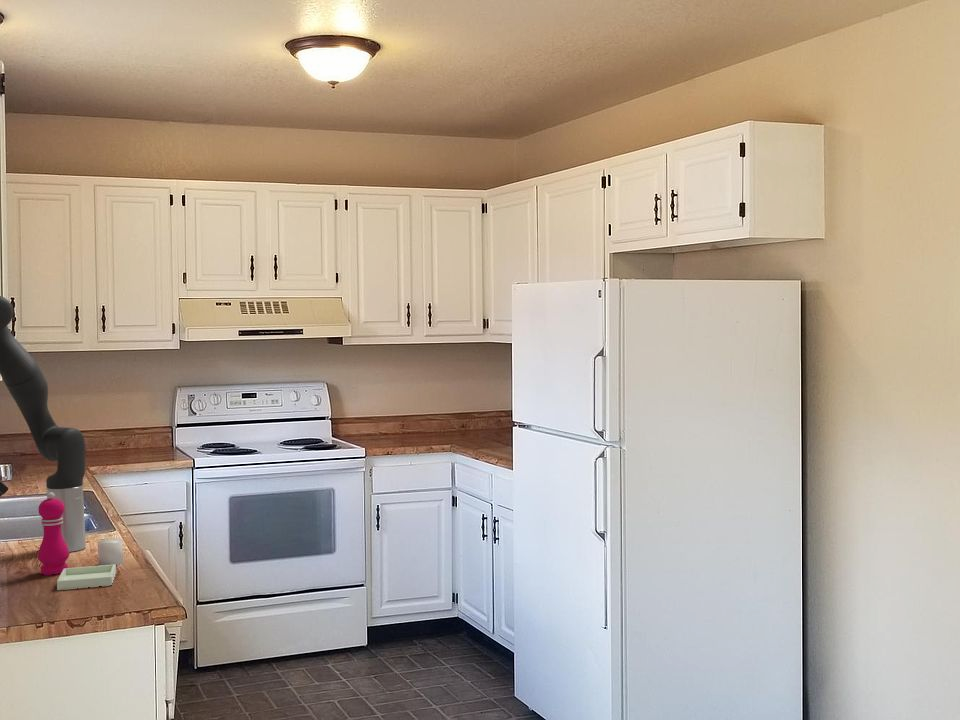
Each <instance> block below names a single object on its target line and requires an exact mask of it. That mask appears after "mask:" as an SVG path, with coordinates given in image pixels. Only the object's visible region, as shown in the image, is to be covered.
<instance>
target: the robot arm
mask: <svg viewBox="0 0 960 720" xmlns="http://www.w3.org/2000/svg"><path fill="white" fill-rule="evenodd" d="M13 317H14V307H13V305H12V303H11V301H10V300H9V299H8V298H5V296H2V295H0V377H1V378H2V381H3V383H4V384H5V387H6V389H7V390H8V391H9V393H10V396H11V397H12V398H13V400H14V401H15V403H16V405H17V407H18V409H19V411H20V413H21V415H22V417H23V419H24V420H25V422H26V424H27V427H28V429H29V431H30V434H31V437H32V438H33V441H34V444H35V445H36V446H35V447H36V448H37V450H38V452H39V454H40V456H41V457H42V458H44V459H45V460H47V461H50V462H51V461H52V462H57V470H56V471H55V472H54V473H53V474H51V475H49V476H47V478H46V480H45V483H46V486H45V487H46V495H47V494H48V493H50V492H52V493H54V495H55V497H54V498H55V499H59V500H61V501H62V502H63V504H64V508H65V509H64V513H63V514H62V515H61V517H62V518H63V519H62V521H63V523H62V524H61V532H62V536H63V539H64V541H65V543H66V544H67V547H68V549H69V553H71V552H76V551H81V550H83V549H86V546H87V545H86V544H87V543H86V527H85V524H86V523H85V506H84V505H85V503H84V486H83V485H84V484H83V483H84V478H85V475H86V474H85V473H86V440H85V437H84V435H83V433H82V432H81V430H79V429H78V428H74V427H63V426H62V427H60V426H58V424H57V423H56V422H55V420H54V419H53V417H52V415H51V413H50V410H49V407H48V401H49V400H48V399H49V387H48V382H47V379H46V378H45V376H44V374H43V372H42V370H41V368H40V367H39V365H38V364H37V362H36V361H35V359H34V358H33V356H32V355H31V354H30V353H29V352H28V350H26V348H24V346H23V345H21V343H20V342H19V341H18V340H17V339H16V338H15V336H14V335H13V334H12V332H11V330H10V328H9V326H8V325H9V324H10V323H11V321H12V320H13ZM9 489H10V488H9V486H7V485H6V484H5V483H3V482H2V481H1V480H0V498H2V496H3V495H5V493H7V492H8V490H9ZM46 499H48V498H47V497H46Z"/></svg>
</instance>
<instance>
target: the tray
mask: <svg viewBox="0 0 960 720" xmlns="http://www.w3.org/2000/svg"><path fill="white" fill-rule="evenodd" d="M115 574H116V575H117V566H116V564H113V565H101V566H99V565H91V566H77V567H68V568H64V569H63V571H62V573H61V574H59V577H58V579H57V580H56V587H57V588H56V591H63V590H64V591H65V590H66V591H67V590H75V589H77V588H78V589H87V588H88V587H90V588H99V586H102V587H111V586H110V585H112V586H113V584H114V581H115V578H116V575H115ZM114 577H115V578H114ZM113 580H114V581H113ZM112 583H113V584H112ZM78 589H77V590H78ZM88 589H89V588H88Z"/></svg>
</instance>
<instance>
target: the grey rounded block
mask: <svg viewBox="0 0 960 720" xmlns="http://www.w3.org/2000/svg"><path fill="white" fill-rule="evenodd" d="M97 554H98V555H97V557H98V558H97V561H98V564H97V566H101V565H113V564H116V565H120V564H122V563H123V564H124V542H123V539H121V538H105V539H101V540H98V541H97ZM123 564H122V565H123ZM120 566H121V565H120Z"/></svg>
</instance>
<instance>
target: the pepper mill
mask: <svg viewBox="0 0 960 720" xmlns="http://www.w3.org/2000/svg"><path fill="white" fill-rule="evenodd" d="M54 497H55V495H54V493H52V492H50V493H48V494H47V493H46V499H44V500H42V501H40V503H39V505H38V510H37V511H38V515H39V516H40V517H41V519H40V521H41V523H40V524H41V525H42V529H43V537H42V540H41V543H40V545H39V548H38V551H37V559H38V561H39V562H40V563H41V564H42V565H41V566H40V574H41V575H42V574H44V575H43V576H53V575H52V574H58V573H62V571H63V569H64V568H69V565H68V563H66V561H67V560H68V559H69V557H70V552H69V549H68V547H67V544H66V543H65V541H64V539H63V536H62V532H61V524H62V523H63V521H62V519H63V518H62V517H61V515H62V514H63V513H64V509H65V508H64V504H63V502H62V501H61V500H59V499H55V498H54ZM47 498H48V499H47ZM58 575H59V574H58Z"/></svg>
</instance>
